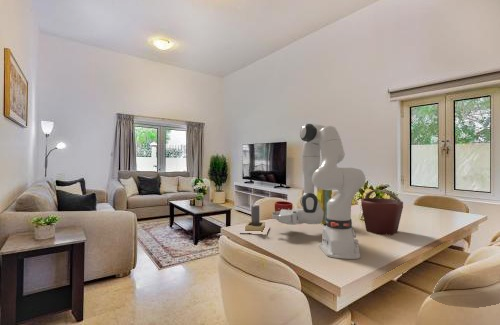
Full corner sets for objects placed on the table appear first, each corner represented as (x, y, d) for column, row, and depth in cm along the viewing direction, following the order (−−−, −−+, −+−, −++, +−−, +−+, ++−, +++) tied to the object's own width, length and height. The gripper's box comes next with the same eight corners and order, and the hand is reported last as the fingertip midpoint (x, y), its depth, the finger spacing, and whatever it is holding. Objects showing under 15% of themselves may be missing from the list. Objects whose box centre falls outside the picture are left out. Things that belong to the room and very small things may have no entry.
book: (332, 224, 165) (332, 187, 165) (321, 224, 165) (322, 187, 165) (324, 219, 182) (325, 184, 182) (315, 218, 182) (315, 184, 182)
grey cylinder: (258, 230, 148) (258, 206, 148) (250, 229, 149) (250, 206, 149) (260, 228, 153) (259, 205, 153) (252, 227, 154) (252, 205, 154)
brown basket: (411, 237, 138) (411, 192, 138) (371, 237, 138) (371, 192, 138) (386, 226, 162) (386, 187, 162) (353, 226, 162) (353, 187, 162)
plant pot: (272, 220, 178) (272, 203, 178) (276, 216, 191) (276, 200, 191) (291, 221, 175) (291, 204, 175) (293, 217, 187) (293, 201, 187)
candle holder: (266, 235, 142) (266, 228, 142) (239, 233, 145) (239, 226, 145) (269, 227, 158) (269, 221, 158) (245, 226, 161) (245, 220, 161)
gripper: (295, 207, 157) (273, 206, 159) (295, 214, 137) (270, 213, 139) (295, 217, 157) (273, 216, 159) (295, 225, 137) (270, 224, 139)
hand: (271, 215), depth 149 cm, fingers open, 8 cm apart
